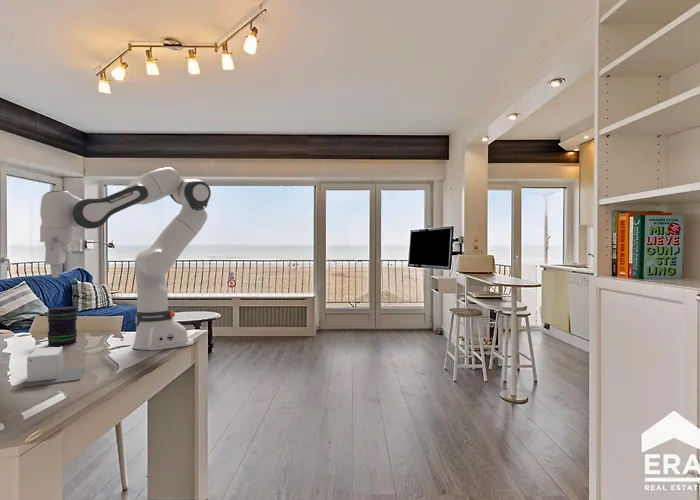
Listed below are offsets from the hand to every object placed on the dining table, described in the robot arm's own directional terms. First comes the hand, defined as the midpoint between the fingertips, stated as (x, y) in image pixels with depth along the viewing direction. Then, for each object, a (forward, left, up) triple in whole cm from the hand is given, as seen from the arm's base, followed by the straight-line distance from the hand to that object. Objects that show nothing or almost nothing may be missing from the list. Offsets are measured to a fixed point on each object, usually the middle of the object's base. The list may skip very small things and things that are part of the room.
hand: (55, 277), depth 142 cm
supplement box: (0, +13, -25) cm, 28 cm away
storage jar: (+1, -32, -29) cm, 43 cm away
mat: (-3, +22, -29) cm, 37 cm away
